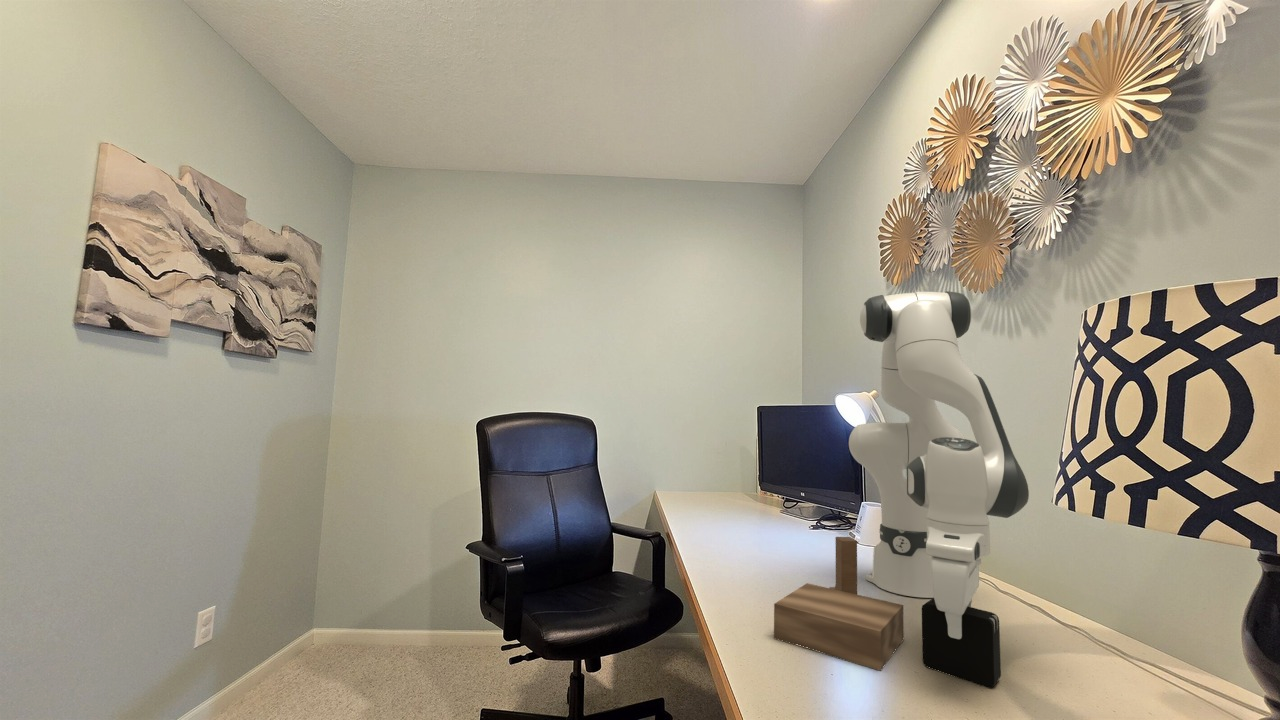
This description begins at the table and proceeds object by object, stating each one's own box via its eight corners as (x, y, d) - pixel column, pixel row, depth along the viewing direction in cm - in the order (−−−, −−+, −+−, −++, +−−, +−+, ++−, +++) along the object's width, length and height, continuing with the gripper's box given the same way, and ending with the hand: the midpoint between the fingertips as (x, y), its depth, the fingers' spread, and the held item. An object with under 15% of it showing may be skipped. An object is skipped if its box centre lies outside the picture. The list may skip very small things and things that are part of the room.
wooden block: (858, 616, 108) (857, 540, 109) (842, 616, 107) (841, 540, 109) (844, 605, 114) (843, 533, 116) (828, 604, 114) (828, 532, 115)
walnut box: (806, 613, 108) (806, 583, 109) (903, 639, 97) (903, 605, 98) (773, 638, 96) (774, 603, 96) (880, 670, 85) (880, 631, 85)
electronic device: (931, 658, 90) (929, 596, 91) (1001, 681, 83) (999, 614, 84) (922, 666, 87) (921, 602, 88) (994, 690, 80) (992, 620, 81)
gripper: (946, 527, 97) (948, 607, 95) (923, 545, 81) (925, 641, 79) (987, 533, 93) (990, 616, 91) (972, 553, 77) (975, 654, 75)
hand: (960, 628), depth 85 cm, fingers open, 8 cm apart
